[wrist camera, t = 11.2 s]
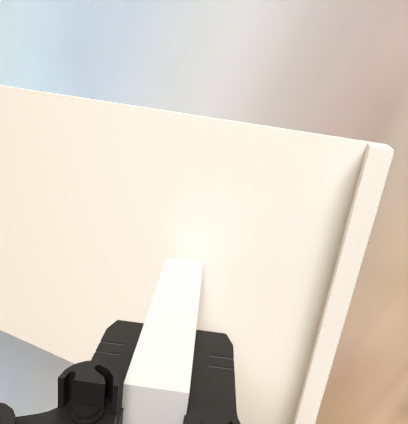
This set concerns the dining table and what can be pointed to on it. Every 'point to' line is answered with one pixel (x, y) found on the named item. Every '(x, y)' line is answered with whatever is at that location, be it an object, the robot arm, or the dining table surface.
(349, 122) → the dining table surface
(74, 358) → the mailer lid
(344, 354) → the dining table surface
